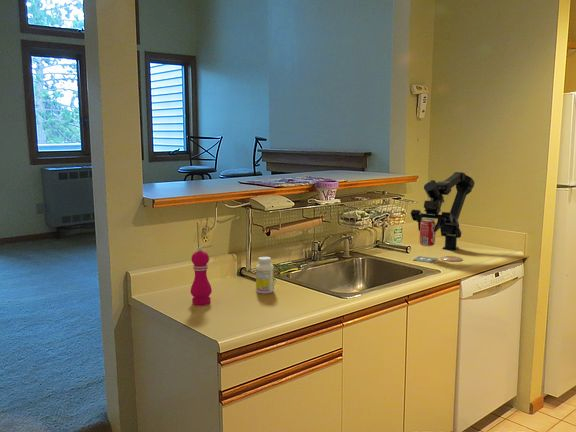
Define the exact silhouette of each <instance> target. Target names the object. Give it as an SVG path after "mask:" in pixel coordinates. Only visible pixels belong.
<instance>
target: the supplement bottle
mask: <svg viewBox="0 0 576 432" xmlns="http://www.w3.org/2000/svg"><path fill="white" fill-rule="evenodd" d="M257 261H258V264H256V266H255V288H256V289H255V290H256V292H257V293H258V294H262V295H264V294H265V295H266V294H271V293H273V292H274V291H275V272H274V271H275V268H274V267H275V266H274V265H273V264H272V263H271V262H272V258H271V256H259V257H258V260H257Z"/></svg>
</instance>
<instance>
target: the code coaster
mask: <svg viewBox="0 0 576 432" xmlns="http://www.w3.org/2000/svg"><path fill="white" fill-rule="evenodd" d="M438 259H439V258H438V257H429V256H423V255H422V256H419V255H418V256H417V257H414V258H413V259H412V261H415V262H421V263H422V262H424V263H430V264H431V263H434V262H435V261H437V260H438Z"/></svg>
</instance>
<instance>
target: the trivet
mask: <svg viewBox="0 0 576 432" xmlns="http://www.w3.org/2000/svg"><path fill="white" fill-rule="evenodd" d="M439 260H441V261H443V262H448V263H449V262H451V263H455V262H456V263H458V262H462V261H463V258H462V257H460V256H454V255H444V256H443V255H442V256H440V257H439Z"/></svg>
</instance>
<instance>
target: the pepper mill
mask: <svg viewBox="0 0 576 432" xmlns="http://www.w3.org/2000/svg"><path fill="white" fill-rule="evenodd" d="M209 261H210V257H209V254H208V253H207V251H204V250H203V247H202V246H199V247H197V251H195V252H194V253H192V255H191V262H192V264H193V266H192V267H193V268H192V270H193V271H194V279H193V282H192V283H191V286H190V294H191V296H192V301H191V302H192V304H193V305H194V306H199V307H200V306H201V307H202V306H207V305H210V304H211V297H210V295H211V294H212V293H213V292H212V291H213V290H212V285H211V283H210V280H209V279H208V276H207V275H208V274H207V270H208V269H209V266H208V263H209Z"/></svg>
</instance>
